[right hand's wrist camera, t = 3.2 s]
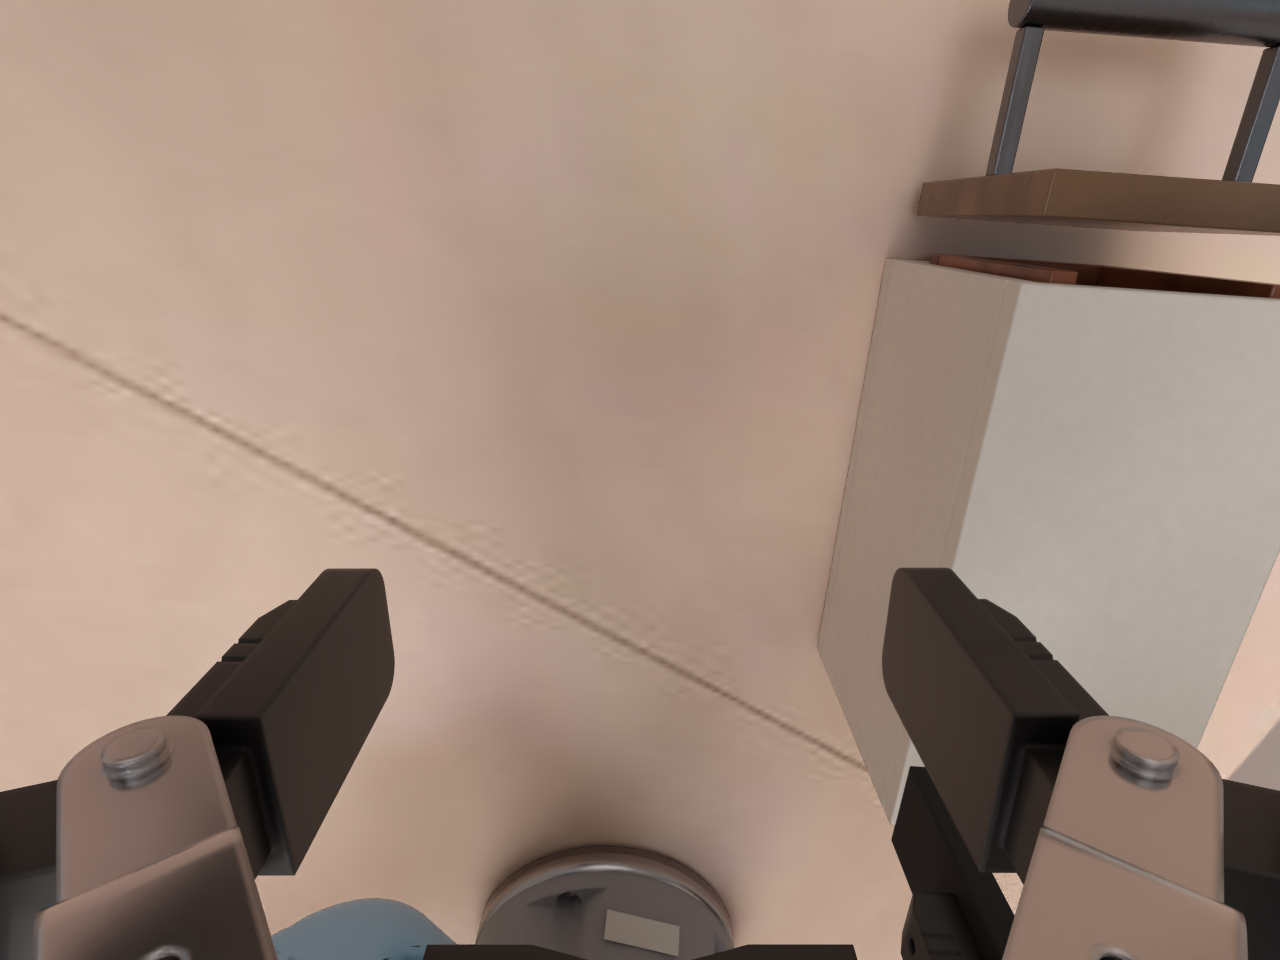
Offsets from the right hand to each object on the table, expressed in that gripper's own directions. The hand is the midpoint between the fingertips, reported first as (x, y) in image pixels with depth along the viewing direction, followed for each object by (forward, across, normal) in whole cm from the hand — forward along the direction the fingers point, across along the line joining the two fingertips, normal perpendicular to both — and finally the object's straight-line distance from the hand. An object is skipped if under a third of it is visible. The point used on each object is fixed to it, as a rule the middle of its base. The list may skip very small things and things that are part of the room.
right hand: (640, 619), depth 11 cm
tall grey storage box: (+21, +14, -6) cm, 26 cm away
